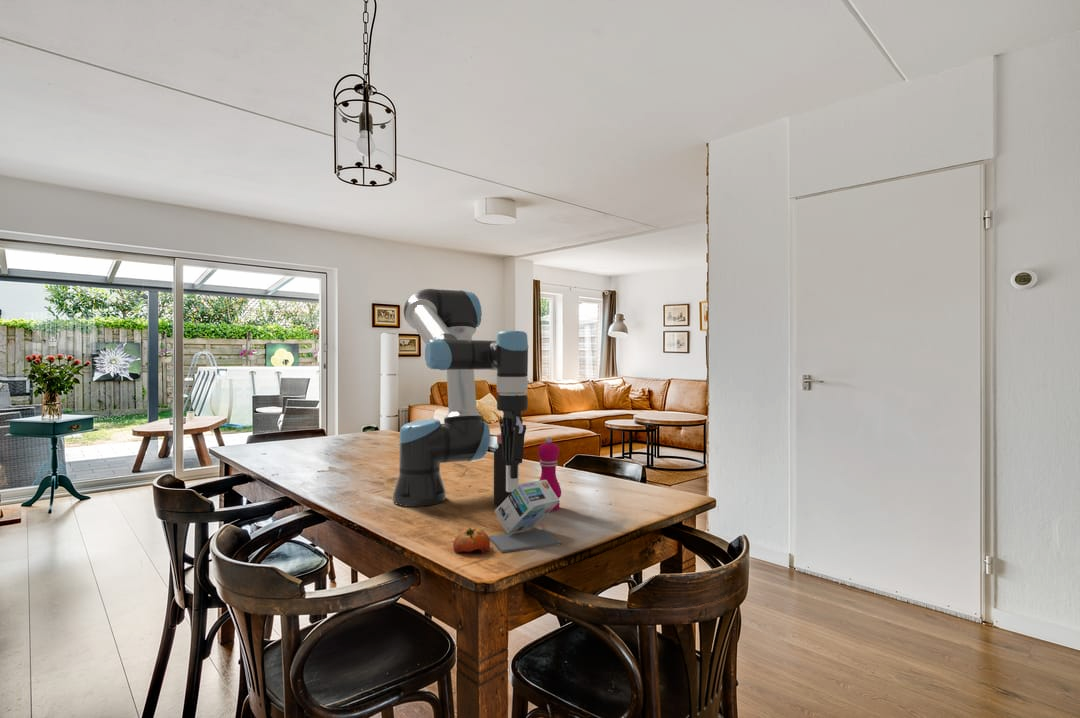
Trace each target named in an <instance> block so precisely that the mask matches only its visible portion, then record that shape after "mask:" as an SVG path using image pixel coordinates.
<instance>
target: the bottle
mask: <svg viewBox="0 0 1080 718" xmlns="http://www.w3.org/2000/svg"><path fill="white" fill-rule="evenodd" d="M496 442H497V443H496V444H497V448H496V449H495V450H494V452H493V506H495V507H496V508H498V507H499V506H500V505H501V504H502V503H503V501H504V500H505V499H506V498H507V497H508V496H509V495H510V494H511V493H512V492H507V491H506V463H505V460H503V455H502V441H501V433H500V434H497V437H496Z"/></svg>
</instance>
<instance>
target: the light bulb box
mask: <svg viewBox="0 0 1080 718" xmlns="http://www.w3.org/2000/svg"><path fill="white" fill-rule="evenodd" d="M539 480H540V479H539ZM539 480H535V481H528V482H523V483H522V482H521V483H518V486H517V487H516V489H515V490H514V491H513V492H512V493H511V494H510V495H509V496H508V497H507V498H506V499H505V500H504V501H503V503H502V504H501V505H500V506H499V507H496V509H495V510H494V513H495V515H496V516H497V517H496V518H497V519H498V520H499V522H500V523H501V525H502V527H503V529H504V531H505V532H506V533H505V534H510V533H517V532H523V531H527V530H529V529H533V528H535V527H536V526H537V525H538V524H540V522H541V521H542V520H543V519H544V518H545V517H546V516H547V515H548V514H549V513H550V512H552V511H551V510H552V509H553V508H554V507H555V506H556V505H557V504H558V503H559V504H560V498H559V499H558V497H557V496H556V494H555V493H554V491H553V490H552V488H551V486H550V485H549V483H548V482H547V480H540V481H539Z"/></svg>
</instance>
